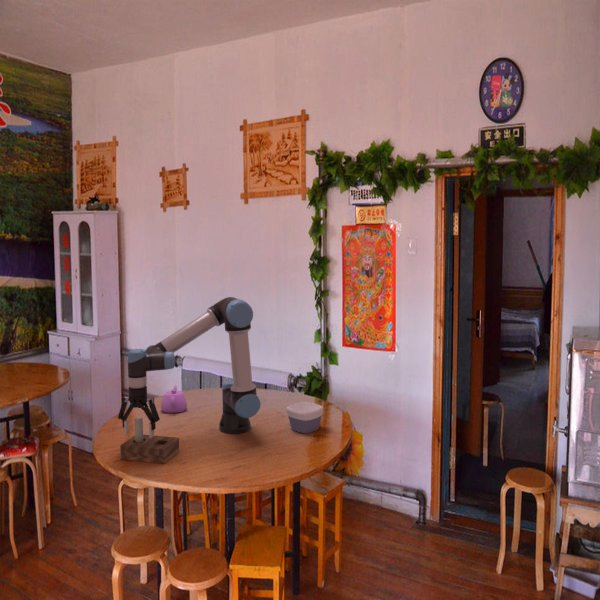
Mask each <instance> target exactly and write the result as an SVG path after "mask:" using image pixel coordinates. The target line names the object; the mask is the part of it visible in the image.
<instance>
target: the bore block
mask: <svg viewBox="0 0 600 600" xmlns="http://www.w3.org/2000/svg"><path fill="white" fill-rule="evenodd" d="M119 446H120V459H121V460H124V461H125V460H126V461H127V460H128V461H135V462H144V463H145V462H146V463H156V464H163V465H164V464H166V463H167V462H169V461H170V460H171V459H172V458H173V457H174V456H175V455H176V454H178V453H179V452H180V437H177V436H176V437H175V436H174V437H172V436H164V435H154V437H152V438H149V434H143V443H137V442H135V435H133V436H132V437H130V438H129V439H127V440H126V441H125V442H123V443H122V444H120V445H119Z"/></svg>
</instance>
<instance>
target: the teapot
mask: <svg viewBox="0 0 600 600" xmlns="http://www.w3.org/2000/svg"><path fill="white" fill-rule="evenodd" d="M177 388H178V386H177V385H176V384H175V385H174V386H173V389H170V390H169V391H166V392H165V393H164V395H163V397H162V400H161V402H160V403H161V405H160V406H161V407H160V408H161V410H162V412H163V413H167V414H168V413H169V414H171V413H172V414H175V413H182V412H184V411H186V409H187V407H188V401H187V398H186V396H185V394H184V392H183V391H181V390H178V389H177Z"/></svg>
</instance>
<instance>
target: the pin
mask: <svg viewBox="0 0 600 600" xmlns="http://www.w3.org/2000/svg"><path fill="white" fill-rule="evenodd" d="M143 420H144V418H143V417H135V418H134V436H135V442H137V443H143V435H144V421H143Z"/></svg>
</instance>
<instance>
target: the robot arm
mask: <svg viewBox="0 0 600 600" xmlns="http://www.w3.org/2000/svg"><path fill="white" fill-rule="evenodd" d="M253 319H254V311H253V309H252V306H251V305H250V304H249V303H248V302H247V301H245V300H242V299H239V298H237V297H233V296H228V297H225V298H223V299H220V300H219V301H217V302H215V304H214V303H213V305H212V306H210V307H208V308H207V310H206V312H204V313H203V314H200V315H199V316H198V317H197V318H195V319H194V320H191V321H190V322H189V323H187V324H186V325H184V326H183V327H181V328H179V329H178V330H176V331H175V332H174V333H172V334H170V335H168V336H167V337H165V338H164V339H163V340H160V341H159V342H158V343H156V344H151V345H148V346H147V347H146V348H145V349H144V348H135V349H130V350H129V351H128V352H127V361H126V362H127V378H128V379H127V380H128V396H127V395H126V396H124V397H123V396H122V398H121V406H120V408H119V413H118V416H117V419H118V420H121V421H122V428H123V430H124V437H127V436H128V435H130V419H129V416H130V414H131V413H132V411H133V409H135V408H138V409H141V410H142V411H143V412H144V414H145V416H146V417H147V419H148V420H149V422H148V433H149V434H148V435H149V438H152V437H154V436H155V430H156V428H157V427H156V423H157V422H159V421H160V420H161V419H160V416H159V413H158V410H157V407H156V404H155V398H154V397H152V398H148V386H147V383H148V381H147V380H148V379H147V372H153V371H154V372H155V371H166V370H173V369H174V368H175V366H176V356H175V352H177V351H180V349H182V348H184V347H185V346H187V345H188V344H190V343H192V342H193V341H195V340H197V339H198V338H199V337H200V336H202V335H204V334H205V333H207V332H208V331H209V330H211V329H213V328H214V327H220V326H221V325H223V324H224V331H225V332H226V333H227V334H228V339H229V340H228V341H229V349H230V352H229V353H230V360H231V361H230V363H231V373H232V374H231V375H232V380H229V381H227V382H226V381H225V382H224V383H223V384H222V387H221V391H222V414H221V418H220V420H219V425H218V429H219V431H220V432H223V433H225V434H241V433H247V432H248V431H250V430H251V429H252V425H251V424H252V423H251V420H250V418H252V417H254V416H255V415H257V413H258V412H259V411H260V409H261V399H260V398H259V396H258V395H257V385H256V384H254V383H253V378H252V377H253V376H252V366H251V351H250V341H249V331H250V330H251V328H252V325H251V323H252V321H253ZM128 402H129V403H130V404H129V406H128ZM127 406H128V408H127ZM126 408H127V409H126Z"/></svg>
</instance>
